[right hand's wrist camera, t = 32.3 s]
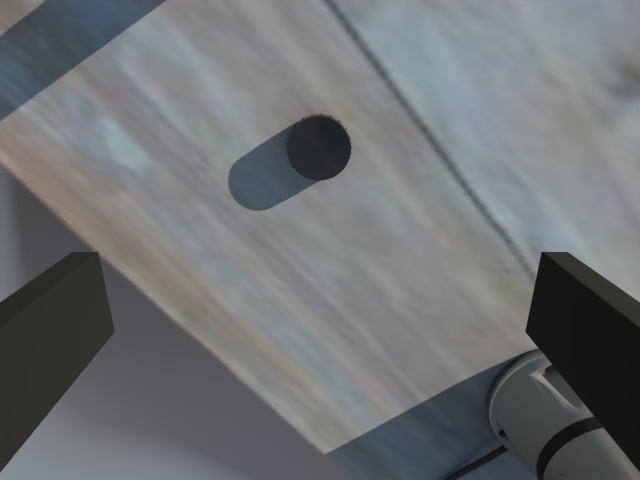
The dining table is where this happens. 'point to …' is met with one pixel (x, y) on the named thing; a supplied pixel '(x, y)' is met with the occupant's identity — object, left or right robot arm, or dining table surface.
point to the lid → (319, 147)
